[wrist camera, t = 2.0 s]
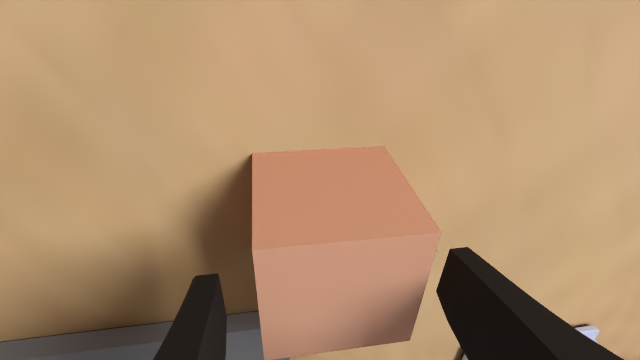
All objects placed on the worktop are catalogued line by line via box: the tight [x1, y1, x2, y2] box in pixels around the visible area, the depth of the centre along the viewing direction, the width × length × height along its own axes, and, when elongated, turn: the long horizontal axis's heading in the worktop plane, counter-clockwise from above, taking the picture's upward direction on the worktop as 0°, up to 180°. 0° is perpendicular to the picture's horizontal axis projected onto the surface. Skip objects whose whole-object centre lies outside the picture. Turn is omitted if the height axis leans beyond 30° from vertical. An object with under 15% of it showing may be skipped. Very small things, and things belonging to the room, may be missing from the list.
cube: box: [252, 146, 442, 360], centre depth 12 cm, size 5×5×5 cm
